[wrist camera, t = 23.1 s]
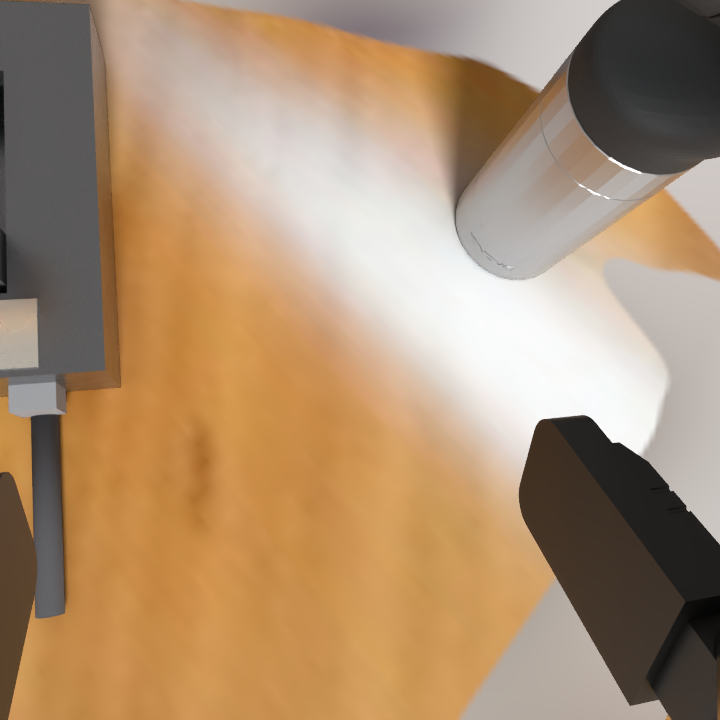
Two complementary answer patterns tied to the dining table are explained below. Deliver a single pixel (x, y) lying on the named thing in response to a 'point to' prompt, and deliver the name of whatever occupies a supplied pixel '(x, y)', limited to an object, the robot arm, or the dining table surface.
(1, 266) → the handle
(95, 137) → the breaker box
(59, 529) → the power cords
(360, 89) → the dining table surface
